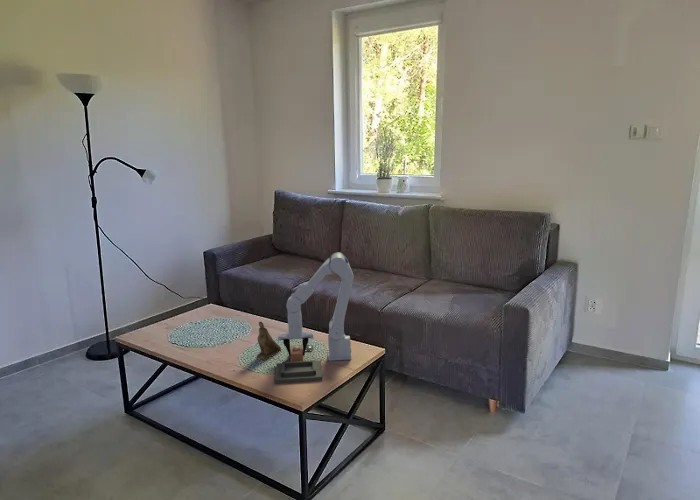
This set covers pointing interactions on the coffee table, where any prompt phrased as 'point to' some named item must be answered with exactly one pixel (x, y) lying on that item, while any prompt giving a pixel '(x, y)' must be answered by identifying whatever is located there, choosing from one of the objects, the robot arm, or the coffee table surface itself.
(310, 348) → the domed chrome disc
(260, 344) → the brown carved statuette
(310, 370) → the stand
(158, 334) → the coffee table surface
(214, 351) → the coffee table surface
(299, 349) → the orange knobbed block
